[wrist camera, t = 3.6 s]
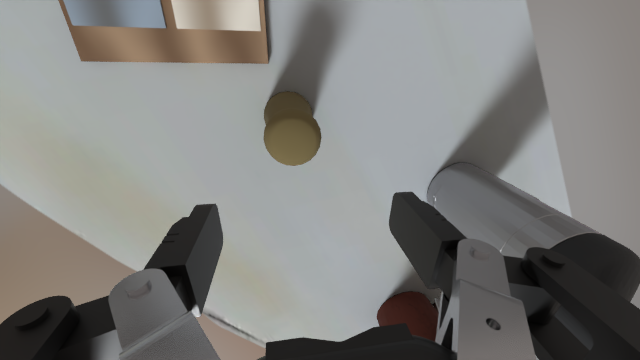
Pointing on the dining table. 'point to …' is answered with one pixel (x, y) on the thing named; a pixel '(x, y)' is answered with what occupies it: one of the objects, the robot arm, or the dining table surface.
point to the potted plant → (411, 313)
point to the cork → (290, 129)
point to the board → (168, 30)
